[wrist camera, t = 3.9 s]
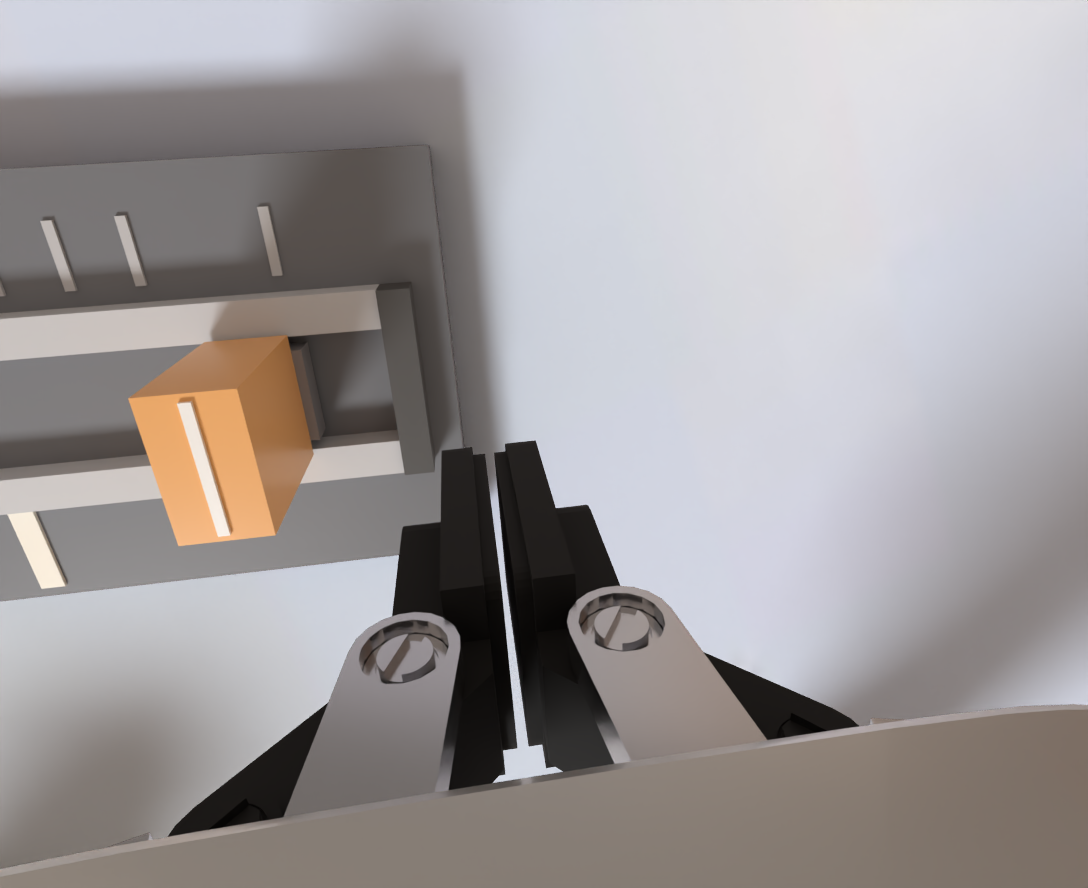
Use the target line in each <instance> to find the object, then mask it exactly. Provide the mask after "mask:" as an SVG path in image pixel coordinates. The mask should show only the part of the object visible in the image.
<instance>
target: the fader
mask: <svg viewBox="0 0 1088 888" xmlns="http://www.w3.org/2000/svg"><path fill="white" fill-rule="evenodd" d="M128 400H129V403H130V405H131V408H132V411H133V414H134V417H135V420H136V423H137V426H138V429H139V432H140V435H141V438H142V441H143V444H144V447H145V450H146V452H147V455H148V458H149V461H150V464H151V467H152V470H153V473H154V476H155V479H156V482H157V485H158V488H159V491H160V494H161V496H162V499H163V502H164V505H165V508H166V511H167V514H168V517H169V520H170V523H171V526H172V529H173V532H174V535H175V538H176V540H177V543H178V546H185V545H194V544H203V543H212V542H221V541H230V540H239V539H248V538H257V537H266V536H275V535H276V534H277V532H278V530H279V527H280V525H281V523H282V521H283V519H284V517H285V515H286V512H287V510H288V508H289V506H290V504H291V502H292V500H293V498H294V495H295V493H296V491H297V489H298V487H299V485H300V483H301V481H302V478H303V476H304V474H305V472H306V470H307V468H308V466H309V464H310V461H311V459H312V457H313V455H314V453H313V449H312V444H311V440H320V439H321V437H322V435H323V433H324V430H325V428H326V427H325V423H324V418H323V413H322V408H321V404H320V399H319V394H318V389H317V384H316V380H315V375H314V370H313V365H312V361H311V356H310V351H309V346H308V342H299V343H289V341H288V336H287V335H282V336H270V337H258V338H246V339H234V340H222V341H210V342H204V343H203V344H201V345H200V346H198V347H197V348H196V349H194V350H193V351H192V352H190V353H189V354H188V355H186V356H185V357H184V358H182V359H181V360H179V361H178V362H177V363H175V364H174V365H173V366H171V367H170V368H169V369H167V370H166V371H165V372H163V373H162V374H161V375H159V376H158V377H156V378H155V379H154V380H152V381H151V382H150V383H148V384H147V385H146V386H144V387H143V388H142V389H140V390H139V391H137V392H136V393H135V394H133V395H132V396H131V397H129V398H128Z"/></svg>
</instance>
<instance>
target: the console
mask: <svg viewBox="0 0 1088 888" xmlns="http://www.w3.org/2000/svg"><path fill="white" fill-rule="evenodd" d="M282 335H287V336H288V341H289V343H299V342H308V346H309V351H310V356H311V361H312V365H313V370H314V375H315V380H316V384H317V389H318V394H319V399H320V404H321V408H322V413H323V418H324V423H325V427H326V428H325V430H324V433H323V435H322V437H321V439H320V440H311V444H312V449H313V453H314V455H313V457H312V459H311V461H310V464H309V466H308V468H307V470H306V472H305V474H304V476H303V478H302V481H301V483H300V485H299V487H298V489H297V491H296V493H295V495H294V498H293V500H292V502H291V504H290V506H289V508H288V510H287V512H286V515H285V517H284V519H283V521H282V523H281V525H280V527H279V530H278V532H277V534H276V535H275V536H266V537H257V538H248V539H239V540H230V541H221V542H212V543H203V544H194V545H185V546H178V543H177V540H176V538H175V535H174V532H173V529H172V526H171V523H170V520H169V517H168V514H167V511H166V508H165V505H164V502H163V499H162V496H161V494H160V491H159V488H158V485H157V482H156V479H155V476H154V473H153V470H152V467H151V464H150V461H149V458H148V455H147V452H146V450H145V447H144V444H143V441H142V438H141V435H140V432H139V429H138V426H137V423H136V420H135V417H134V414H133V411H132V408H131V405H130V403H129V400H128V398H129V397H131V396H132V395H133V394H135V393H136V392H137V391H139V390H140V389H142V388H143V387H144V386H146V385H147V384H148V383H150V382H151V381H152V380H154V379H155V378H156V377H158V376H159V375H161V374H162V373H163V372H165V371H166V370H167V369H169V368H170V367H171V366H173V365H174V364H175V363H177V362H178V361H179V360H181V359H182V358H184V357H185V356H186V355H188V354H189V353H190V352H192V351H193V350H194V349H196V348H197V347H198V346H200V345H201V344H203V343H204V342H210V341H222V340H234V339H246V338H258V337H270V336H282ZM460 448H464V440H463V432H462V423H461V415H460V406H459V397H458V389H457V380H456V371H455V363H454V354H453V345H452V337H451V328H450V319H449V311H448V302H447V293H446V285H445V276H444V268H443V259H442V250H441V242H440V233H439V224H438V216H437V207H436V198H435V190H434V181H433V172H432V164H431V155H430V147H429V145H413V146H396V147H378V148H361V149H343V150H326V151H308V152H291V153H273V154H256V155H238V156H221V157H203V158H186V159H168V160H151V161H133V162H116V163H98V164H81V165H63V166H46V167H28V168H11V169H0V601H9V600H17V599H26V598H35V597H43V596H52V595H60V594H69V593H77V592H86V591H94V590H103V589H112V588H120V587H129V586H137V585H146V584H154V583H163V582H171V581H180V580H189V579H197V578H206V577H214V576H223V575H231V574H240V573H248V572H257V571H266V570H274V569H283V568H291V567H300V566H308V565H317V564H325V563H334V562H343V561H351V560H360V559H368V558H377V557H385V556H394V555H399V552H400V543H401V534H402V528H403V527H404V526H410V525H418V524H427V523H435V522H441V452H442V450H451V449H460Z"/></svg>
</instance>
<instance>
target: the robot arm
mask: <svg viewBox="0 0 1088 888" xmlns="http://www.w3.org/2000/svg"><path fill="white" fill-rule="evenodd" d="M505 451H506V452H498V453H494V455H495V467H496V477H497V488H498V499H499V509H500V520H501V530H502V541H503V552H504V562H505V573H506V583H507V591H508V599H509V606H510V613H511V621H512V628H513V635H514V643H515V650H516V657H517V664H518V672H519V679H520V686H521V694H522V701H523V708H524V715H525V723H526V730H527V737H528V744H529V746H534V745H541V744H542V745H543V751H544V757H545V764H546V768H549V767H557V768H558V769H560V770H562V771H563V772H560V773H554V774H548V775H541V776H535V777H529V778H522V779H516V780H510V781H504V782H497V783H493V782H494V780H495V779H496V778H497V777H498V776H499V775H505V767H504V756H503V750H508V749H515V748H517V740H516V730H515V720H514V710H513V700H512V690H511V680H510V670H509V660H508V649H507V639H506V629H505V619H504V609H503V599H502V590H501V581H500V572H499V564H498V556H497V548H496V540H495V532H494V524H493V516H492V508H491V500H490V492H489V484H488V476H487V468H486V460H485V454H479V455H473V452H472V447H470V448H460V449H451V450H442V452H441V522H435V523H427V524H418V525H410V526H404V527H403V528H402V534H401V543H400V552H399V561H398V570H397V579H396V588H395V597H394V606H393V614H392V617H389V618H386V619H383V620H381V621H379V622H378V623H376V624H374V625H373V626H371V627H369V628H367V629H366V630H365V631H364V632H363V633H362V634H361V635H360V636H359V637H358V638H357V639H356V640H355V642H354V643H353V645H352V647H351V648H350V650H349V652H348V654H347V657H346V659H345V662H344V664H343V667H342V669H341V672H340V674H339V677H338V680H337V682H336V685H335V687H334V690H333V692H332V695H331V697H330V700H329V702H328V703H327V704H326V705H325V706H323V707H322V708H321V709H319V710H318V711H317V712H316V713H314V714H313V715H312V716H310V717H309V718H308V719H307V720H305V721H304V722H303V723H302V724H300V725H299V726H298V727H296V728H295V729H294V730H293V731H291V732H290V733H289V734H288V735H286V736H285V737H284V738H282V739H281V740H280V741H279V742H277V743H276V744H275V745H273V746H272V747H271V748H270V749H268V750H267V751H266V752H265V753H263V754H262V755H261V756H259V757H258V758H257V759H256V760H254V761H253V762H252V763H251V764H249V765H248V766H247V767H245V768H244V769H243V770H242V771H240V772H239V773H238V774H236V775H235V776H234V777H233V778H231V779H230V780H229V781H228V782H226V783H225V784H224V785H222V786H221V787H220V788H219V789H217V790H216V791H215V792H214V793H212V794H211V795H210V796H208V797H207V798H206V799H205V800H203V801H202V802H201V803H199V804H198V805H197V806H196V807H194V808H193V809H192V810H191V811H190V812H189V813H188V814H187V815H186V816H185V817H184V818H183V819H182V820H181V821H180V822H179V823H178V824H176V826H175V827H174V828H173V830H172V831H171V833H170V834H169V835H168V837H164V838H159V839H153V838H152V836H151V834H150V832H149V833H146V834H143V835H141V836H138V837H135V838H132V839H129V840H126V841H123V842H121V843H118V844H115V845H112V846H109V847H106V848H101V849H96V850H91V851H86V852H81V853H76V854H71V855H66V856H61V857H56V858H51V859H46V860H41V861H36V862H31V863H27V864H22V865H17V866H12V867H7V868H2V869H0V888H1088V705H1077V704H1069V705H1041V706H1018V707H1009V708H1000V709H991V710H982V711H973V712H964V713H955V714H946V715H937V716H929V717H921V718H915V719H908V720H901V719H880V718H871V720H870V724H869V725H867V726H859V725H857V724H856V723H855V722H854V721H853V720H852V719H851V718H849V717H847V716H845V715H843V714H842V713H840V712H838V711H836V710H834V709H833V708H831V707H828V706H826V705H824V704H821V703H819V702H817V701H815V700H812V699H810V698H808V697H805V696H803V695H801V694H798V693H796V692H794V691H792V690H789V689H787V688H785V687H782V686H780V685H778V684H775V683H773V682H771V681H769V680H766V679H764V678H762V677H759V676H757V675H755V674H752V673H750V672H748V671H746V670H743V669H741V668H739V667H736V666H734V665H732V664H729V663H727V662H725V661H723V660H720V659H718V658H716V657H713V656H711V655H709V654H706V653H704V652H703V651H702V650H701V648H700V647H699V646H698V644H697V643H696V641H695V640H694V639H693V637H692V636H691V635H690V633H689V632H688V630H687V629H686V628H685V626H684V625H683V624H682V622H681V621H680V619H679V618H678V617H677V615H676V614H675V613H674V611H673V610H672V608H671V607H670V606H669V605H668V604H667V603H666V602H665V601H664V600H663V599H662V598H660V597H658V596H656V595H654V594H652V593H651V592H649V591H646V590H642V589H639V588H635V587H627V586H620V584H619V581H618V579H617V576H616V574H615V571H614V569H613V566H612V564H611V561H610V558H609V556H608V553H607V551H606V548H605V546H604V543H603V541H602V538H601V536H600V533H599V530H598V528H597V525H596V523H595V520H594V518H593V515H592V513H591V510H590V508H589V506H588V505H581V506H573V507H564V508H555V504H554V501H553V498H552V494H551V491H550V488H549V484H548V481H547V478H546V474H545V471H544V468H543V464H542V461H541V457H540V454H539V451H538V447H537V444H536V441H527V442H517V443H508V444H505Z"/></svg>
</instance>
